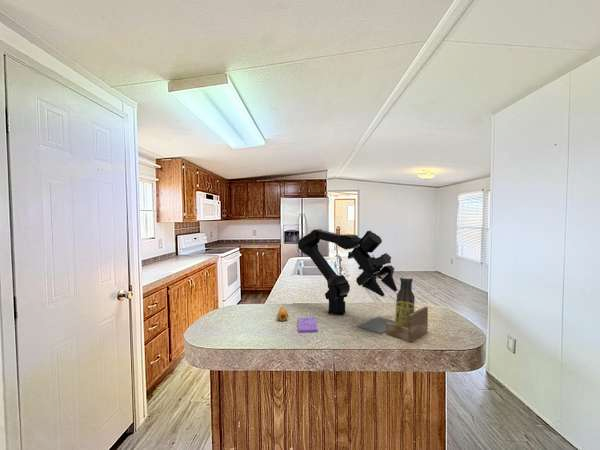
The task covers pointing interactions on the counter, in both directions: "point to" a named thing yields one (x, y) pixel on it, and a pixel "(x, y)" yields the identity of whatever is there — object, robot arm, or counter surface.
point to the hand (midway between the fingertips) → (390, 293)
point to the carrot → (282, 314)
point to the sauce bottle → (404, 302)
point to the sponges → (307, 325)
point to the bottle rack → (410, 326)
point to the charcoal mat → (376, 325)
